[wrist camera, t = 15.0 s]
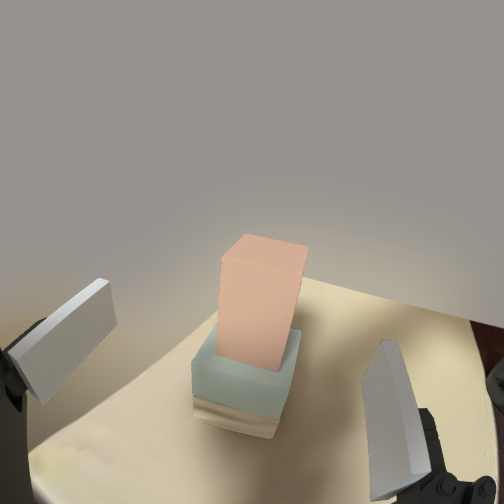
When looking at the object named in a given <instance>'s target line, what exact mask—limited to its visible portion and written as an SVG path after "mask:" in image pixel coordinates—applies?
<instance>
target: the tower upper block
mask: <svg viewBox="0 0 504 504" xmlns="http://www.w3.org/2000/svg"><path fill="white" fill-rule="evenodd" d="M301 333H302V330H298V329H294V328H290V331H289V335H288V339H287V343H286V346H285V350H284V354H283V357H282V361H281V364H280V368H279V371H278V372H277V371H273V370H269V369H265V368H261V367H257V366H253V365H250V364H246V363H242V362H239V361H236V360H232V359H229V358H225V357H222V356H219V355H216V354H215V352H216V336H217V324H216V325H215V327H214V328H213V330H212V331H211V333H210V334H209V336H208V337H207V339H206V340H205V342H204V343H203V345H202V346H201V348H200V349H199V351H198V353H197V354H196V356H195V357H194V359H193V360H192V362H191V370H192V394H194V395H196V396H199V397H202V398H205V399H208V400H211V401H214V402H217V403H220V404H223V405H226V406H229V407H233V408H236V409H239V410H243V411H246V412H250V413H254V414H258V415H261V416H265V417H270V418H274V419H278V420H279V417H280V415H281V412H282V410H283V407H284V405H285V402H286V399H287V397H288V394H289V392H290V388H291V383H292V379H293V374H294V369H295V364H296V359H297V354H298V349H299V344H300V339H301Z"/></svg>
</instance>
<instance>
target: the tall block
mask: <svg viewBox="0 0 504 504" xmlns="http://www.w3.org/2000/svg"><path fill="white" fill-rule="evenodd" d="M308 249H309V247H308V246H302V245H298V244H294V243H289V242H284V241H279V240H275V239H270V238H265V237H260V236H255V235H250V234H245V235H244V236H243V237H242V238H240V239H239V240H238V241H237V242H236V243H235V244H234V245H233V246H232V247H231V248H230V249H229V250H228V251H227V252H226V253H225V254H224V255H223V257H222V268H221V280H220V294H219V306H218V321H217V336H216V352H215V354H216V355H219V356H222V357H225V358H229V359H232V360H236V361H239V362H242V363H246V364H250V365H253V366H257V367H261V368H265V369H269V370H273V371H277V372H278V371H279V368H280V364H281V361H282V357H283V354H284V350H285V346H286V343H287V339H288V335H289V331H290V327H291V323H292V319H293V315H294V311H295V307H296V303H297V299H298V294H299V290H300V286H301V281H302V277H303V272H304V268H305V263H306V259H307V254H308Z"/></svg>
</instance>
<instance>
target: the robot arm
mask: <svg viewBox="0 0 504 504" xmlns="http://www.w3.org/2000/svg"><path fill="white" fill-rule="evenodd" d="M116 325H117V322H116V317H115V311H114V305H113V299H112V293H111V286H110V281H107V280H104V279H100V278H98V279H97V280H95V281H94V282H93V283H92V284H90V285H89V286H87V287H86V288H85V289H83V290H82V291H81V292H80V293H78V294H77V295H76V296H74V297H73V298H72V299H70V300H69V301H68V302H67V303H65V304H64V305H63V306H61V307H60V308H59V309H58V310H56V311H55V312H54V313H53V314H51V315H50V316H49V317H48V318H44V319H42V320H39V321H37V322H36V323H35V324H33V325H32V326H31V327H30V329H27V330H26V331H25V332H24V334H21V335H20V336H19V337H18V338H17V339H16V340H14V341H13V342H12V343H11V344H10V345H9V346H8V347H7V348H5V349H4V350H3V351H2V350H1V348H0V504H35V502H34V497H33V491H32V485H31V478H30V471H29V462H28V450H27V427H26V424H27V394H26V392H25V391H26V390H27V389H28V390H29V391H30V393H31V394H32V396H33V397H34V398H35V399H36V400H38V401H39V402H40V403H41V404H42V405H45V403H46V402H47V401H48V400H49V399H50V398H51V396H52V395H53V394H54V393H55V391H57V389H58V388H59V387H60V386H61V385H62V384H63V382H64V381H65V380H66V379H67V378H68V377H69V376H70V375H71V373H72V372H73V371H74V370H75V369H76V368H77V367H78V366H79V365H80V364H81V363H82V361H83V360H84V359H85V358H86V357H87V356H88V355H89V354H90V353H91V352H92V351H93V349H94V348H95V347H96V346H97V345H98V344H99V343H100V342H101V341H102V340H103V339H104V338H105V337H106V336H107V335H108V333H109V332H110V331H111V330H112V329H113V328H114V327H115V326H116ZM361 384H362V392H363V400H364V408H365V418H366V428H367V440H368V454H369V474H370V502H371V501H381V500H388V499H390V498H392V497H394V496H395V495H397V501H395V502H393V503H392V504H494V501H495V495H496V483H495V481H494V480H493V478H492V477H490V476H483V477H481V478H479V479H478V480H476V481H475V482H465V481H458V480H457V478H456V477H455V476H454V475H453V474H452V473H449V472H447V470H446V467H445V463H444V458H443V453H442V449H441V445H440V440H439V439H438V437H439V436H438V432H437V430H436V425H435V421H434V418H433V416H432V415H431V413H430V412H429V411H428V409H427V408H418V407H417V403H416V400H415V396H414V393H413V389H412V386H411V382H410V379H409V376H408V373H407V370H406V367H405V363H404V360H403V357H402V354H401V352H400V349H399V346H398V343H397V341H393V340H384V339H382V341H381V343H380V345H379V347H378V349H377V351H376V353H375V355H374V357H373V359H372V361H371V363H370V365H369V367H368V369H367V371H366V372H365V374H364V376H363V378H362V380H361ZM486 384H487V389H488V392H489V395H490V397H491V399H492V401H493V402H494V404H495V405H496V406H497V407H498V409H499V410H500V411H501V412H502V413H504V357H502V358H501V359H500V360H499V361H498V362H497V363H496V364H495V365H494V366H493V368H492V369H491V370H490V372H489V373H488V375H487V380H486Z"/></svg>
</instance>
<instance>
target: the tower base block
mask: <svg viewBox="0 0 504 504" xmlns="http://www.w3.org/2000/svg"><path fill="white" fill-rule="evenodd" d="M193 411H194V420H196V421H199V422H202V423H205V424H209V425H212V426H216V427H219V428H223V429H227V430H231V431H235V432H239V433H243V434H247V435H252V436H257V437H262V438H267V439H272V438H273V436H274V433H275V431H276V429H277V426H278V424H279V422H280V419H281V415H282V412H281V415H280V417H279V420H278V419H274V418H270V417H265V416H261V415H258V414H254V413H250V412H246V411H243V410H239V409H236V408H233V407H229V406H226V405H223V404H220V403H217V402H214V401H211V400H208V399H205V398H202V397H199V396H196V395H194V396H193Z"/></svg>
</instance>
